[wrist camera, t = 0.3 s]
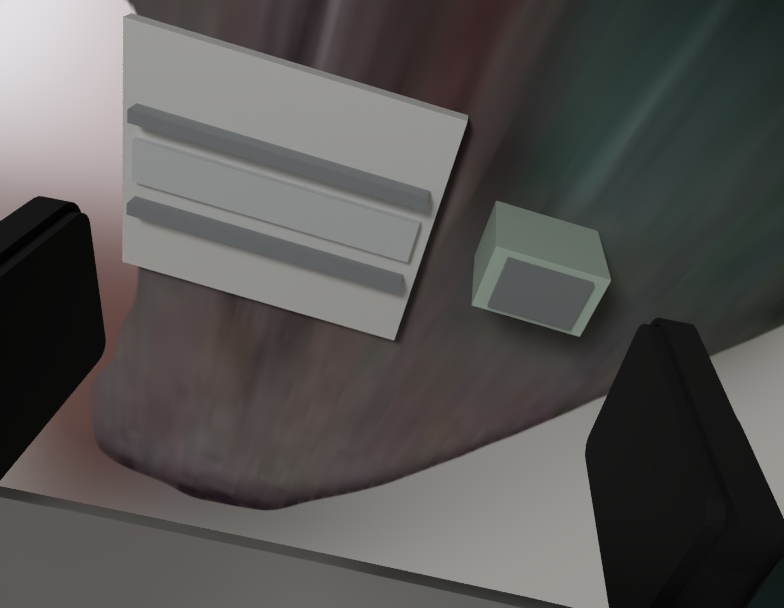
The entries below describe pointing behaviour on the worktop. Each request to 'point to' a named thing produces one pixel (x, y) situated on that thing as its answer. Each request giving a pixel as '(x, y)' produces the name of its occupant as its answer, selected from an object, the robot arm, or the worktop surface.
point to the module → (539, 269)
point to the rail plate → (277, 177)
